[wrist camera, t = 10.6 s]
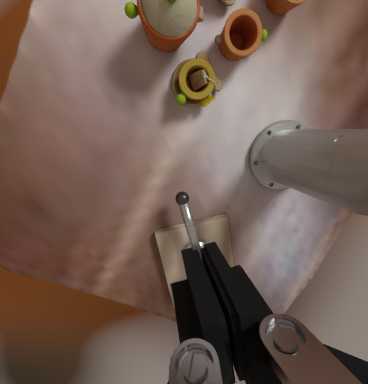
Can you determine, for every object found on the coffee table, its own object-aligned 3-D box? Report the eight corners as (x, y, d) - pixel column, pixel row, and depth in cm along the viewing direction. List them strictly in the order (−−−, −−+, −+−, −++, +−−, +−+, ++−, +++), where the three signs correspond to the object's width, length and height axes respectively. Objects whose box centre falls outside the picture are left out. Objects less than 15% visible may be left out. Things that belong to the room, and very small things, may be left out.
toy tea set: (188, 121, 34) (202, 118, 25) (117, 36, 29) (103, -8, 20) (309, 6, 32) (373, -44, 23) (256, -107, 27) (310, -228, 18)
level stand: (225, 213, 40) (228, 217, 38) (234, 286, 45) (237, 292, 44) (154, 230, 38) (155, 235, 37) (173, 303, 44) (174, 310, 42)
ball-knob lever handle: (221, 286, 42) (229, 303, 38) (194, 296, 42) (199, 314, 38) (195, 183, 35) (201, 190, 31) (161, 193, 34) (163, 202, 30)
